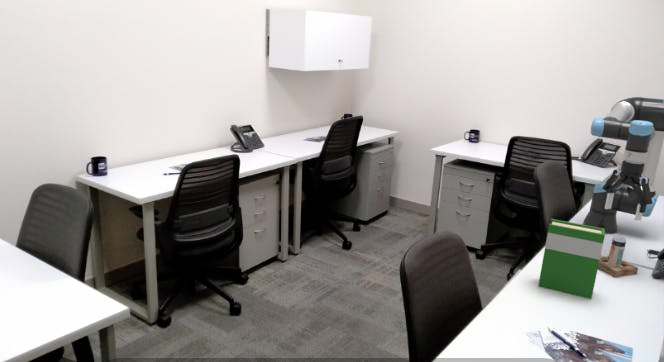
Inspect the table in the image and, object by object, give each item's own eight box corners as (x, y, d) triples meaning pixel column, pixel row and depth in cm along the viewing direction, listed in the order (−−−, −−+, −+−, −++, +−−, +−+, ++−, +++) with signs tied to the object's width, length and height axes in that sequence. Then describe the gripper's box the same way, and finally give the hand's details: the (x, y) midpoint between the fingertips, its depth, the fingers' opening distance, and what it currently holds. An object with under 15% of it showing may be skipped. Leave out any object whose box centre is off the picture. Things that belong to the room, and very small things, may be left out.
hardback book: (538, 286, 192) (549, 224, 186) (540, 278, 198) (551, 218, 192) (591, 299, 185) (604, 235, 178) (591, 290, 191) (604, 228, 185)
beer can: (609, 262, 214) (615, 234, 210) (622, 266, 210) (628, 238, 207) (605, 265, 210) (611, 237, 207) (618, 269, 207) (624, 240, 204)
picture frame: (611, 261, 218) (612, 255, 218) (636, 274, 208) (638, 267, 207) (589, 264, 214) (590, 258, 213) (614, 277, 203) (615, 271, 203)
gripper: (599, 154, 210) (589, 204, 216) (657, 170, 188) (644, 226, 194) (613, 153, 213) (602, 203, 219) (671, 169, 191) (658, 224, 197)
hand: (622, 214), depth 206 cm, fingers open, 13 cm apart
